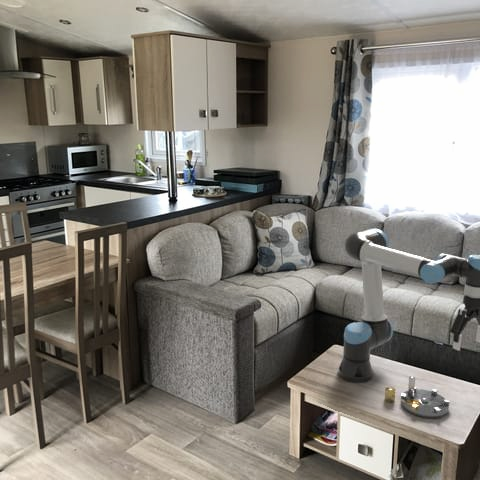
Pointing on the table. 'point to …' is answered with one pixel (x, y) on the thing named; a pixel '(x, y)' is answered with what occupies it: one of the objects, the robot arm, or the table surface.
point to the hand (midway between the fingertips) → (467, 345)
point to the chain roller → (390, 394)
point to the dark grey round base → (424, 402)
